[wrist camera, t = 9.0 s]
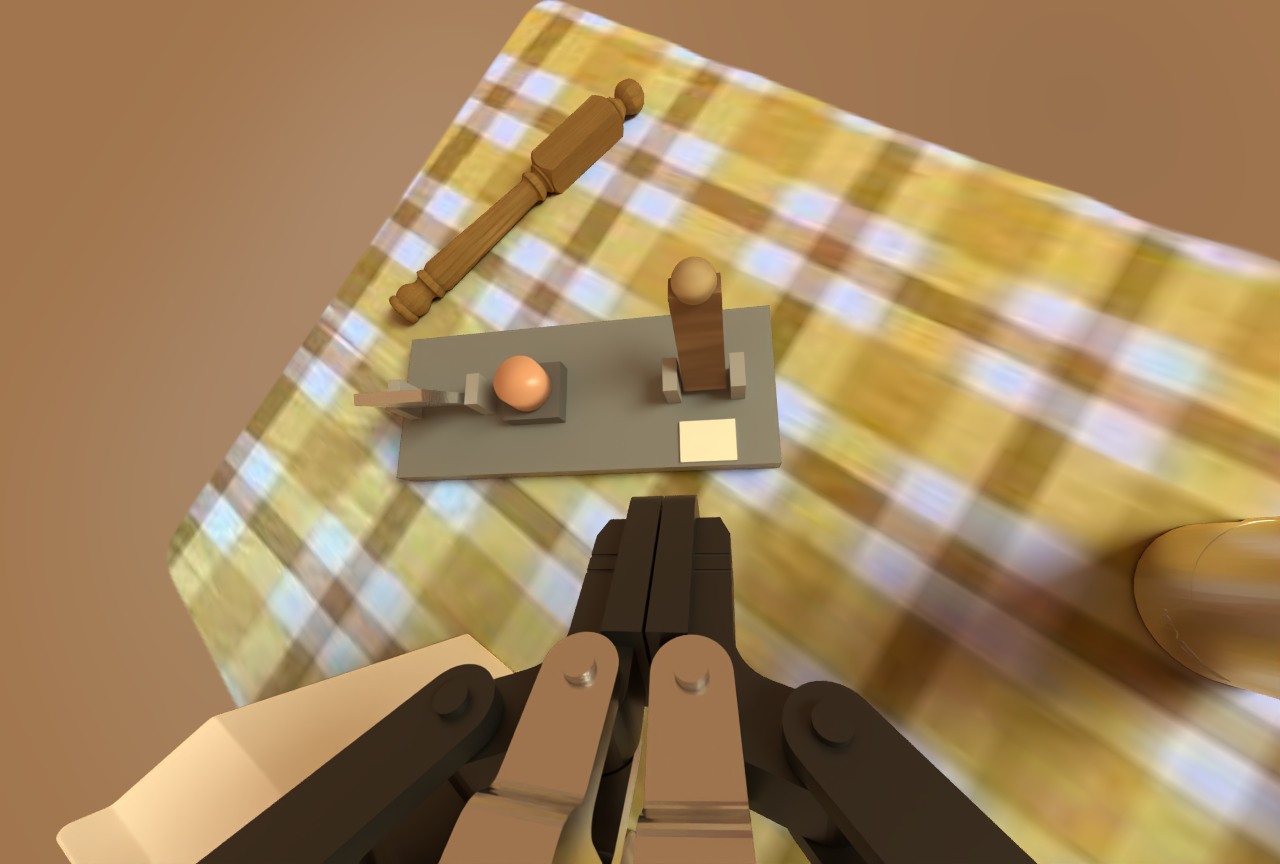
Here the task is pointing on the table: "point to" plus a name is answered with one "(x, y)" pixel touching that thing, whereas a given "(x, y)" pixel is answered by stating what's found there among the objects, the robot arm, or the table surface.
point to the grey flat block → (410, 399)
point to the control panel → (592, 403)
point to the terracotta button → (522, 383)
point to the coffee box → (628, 849)
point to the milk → (254, 760)
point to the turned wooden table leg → (526, 193)
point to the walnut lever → (698, 324)
